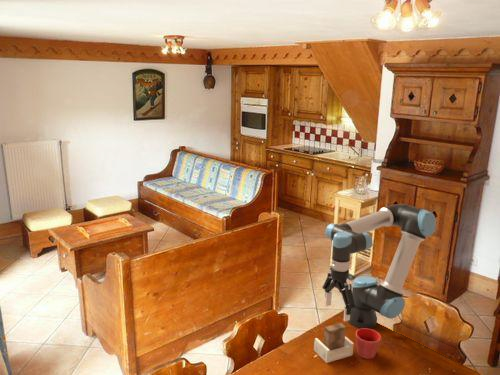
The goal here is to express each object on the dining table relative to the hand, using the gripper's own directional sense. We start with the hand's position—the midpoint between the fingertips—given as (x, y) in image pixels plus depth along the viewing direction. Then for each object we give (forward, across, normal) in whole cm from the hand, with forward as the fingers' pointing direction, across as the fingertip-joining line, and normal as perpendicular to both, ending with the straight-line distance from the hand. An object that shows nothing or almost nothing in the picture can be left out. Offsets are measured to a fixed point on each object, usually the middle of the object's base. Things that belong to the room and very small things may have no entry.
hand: (336, 312), depth 191 cm
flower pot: (+20, +7, +13) cm, 25 cm away
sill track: (+20, 0, -1) cm, 20 cm away
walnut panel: (+19, 0, -1) cm, 19 cm away
